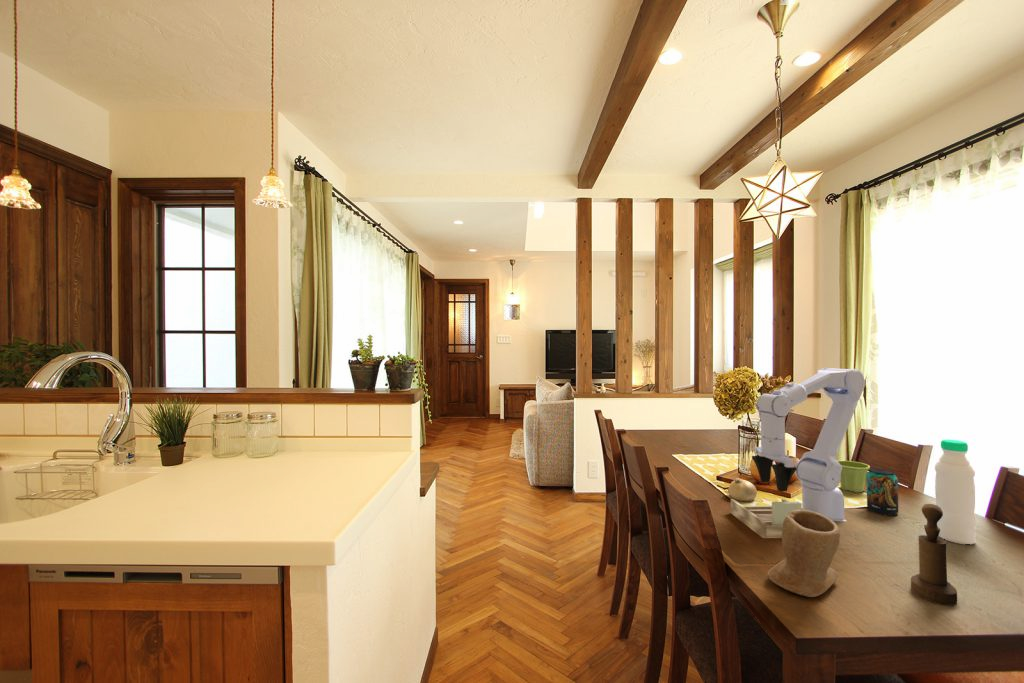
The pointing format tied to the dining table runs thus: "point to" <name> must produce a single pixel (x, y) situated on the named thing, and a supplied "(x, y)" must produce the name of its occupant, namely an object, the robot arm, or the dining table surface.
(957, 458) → the white bottle
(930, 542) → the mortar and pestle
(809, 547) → the stone cup
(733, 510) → the rack
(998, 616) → the dining table surface
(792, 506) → the panel
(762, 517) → the offcut upper
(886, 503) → the printed food package
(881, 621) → the dining table surface
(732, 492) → the onion
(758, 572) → the dining table surface
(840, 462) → the plant pot
